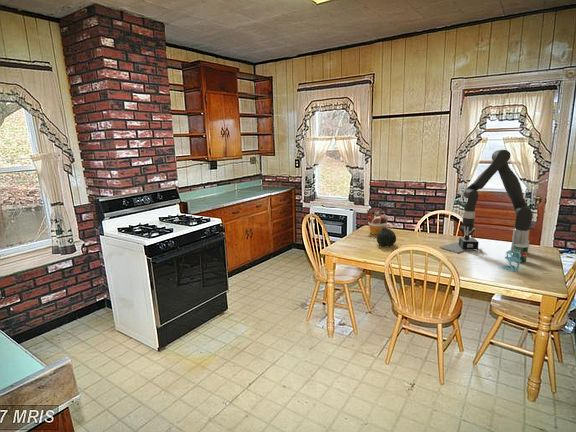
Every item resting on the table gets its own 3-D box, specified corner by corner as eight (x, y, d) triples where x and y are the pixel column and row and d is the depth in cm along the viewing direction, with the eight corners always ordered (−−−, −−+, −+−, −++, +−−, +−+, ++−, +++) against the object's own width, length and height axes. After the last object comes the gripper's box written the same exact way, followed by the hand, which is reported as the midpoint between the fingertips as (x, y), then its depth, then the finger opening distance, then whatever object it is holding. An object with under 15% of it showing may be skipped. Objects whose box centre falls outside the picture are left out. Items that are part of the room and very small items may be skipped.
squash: (403, 239, 266) (392, 222, 272) (390, 244, 258) (379, 227, 264) (391, 247, 277) (382, 231, 283) (379, 252, 269) (369, 235, 274)
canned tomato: (526, 264, 226) (528, 247, 223) (512, 262, 230) (514, 246, 227) (525, 260, 233) (527, 244, 230) (511, 258, 236) (513, 242, 234)
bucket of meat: (391, 232, 305) (392, 210, 301) (384, 236, 292) (384, 213, 288) (369, 229, 317) (370, 207, 312) (362, 233, 304) (362, 211, 300)
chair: (509, 272, 214) (511, 253, 212) (501, 266, 222) (504, 249, 220) (522, 271, 214) (524, 253, 211) (514, 266, 222) (516, 248, 219)
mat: (474, 248, 258) (474, 247, 258) (457, 253, 249) (457, 252, 248) (456, 243, 271) (456, 242, 271) (439, 247, 261) (439, 246, 261)
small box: (477, 250, 252) (473, 245, 261) (479, 242, 250) (474, 237, 260) (462, 249, 254) (458, 244, 264) (463, 241, 252) (459, 236, 262)
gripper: (480, 217, 244) (478, 241, 248) (463, 214, 255) (461, 237, 259) (474, 219, 241) (472, 243, 245) (457, 215, 252) (455, 238, 256)
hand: (466, 240), depth 252 cm, fingers closed
